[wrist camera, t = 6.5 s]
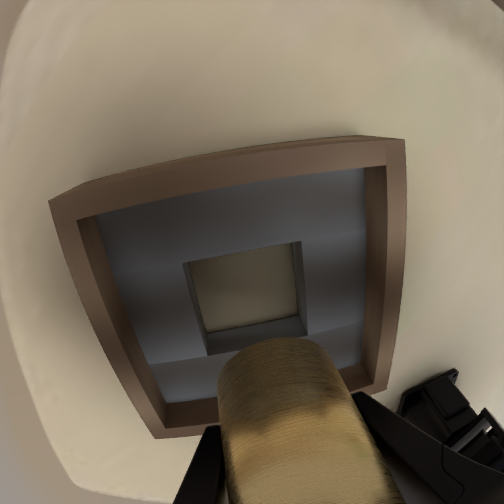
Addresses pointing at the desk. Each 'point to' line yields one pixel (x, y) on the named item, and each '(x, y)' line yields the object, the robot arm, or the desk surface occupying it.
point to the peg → (296, 430)
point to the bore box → (233, 241)
